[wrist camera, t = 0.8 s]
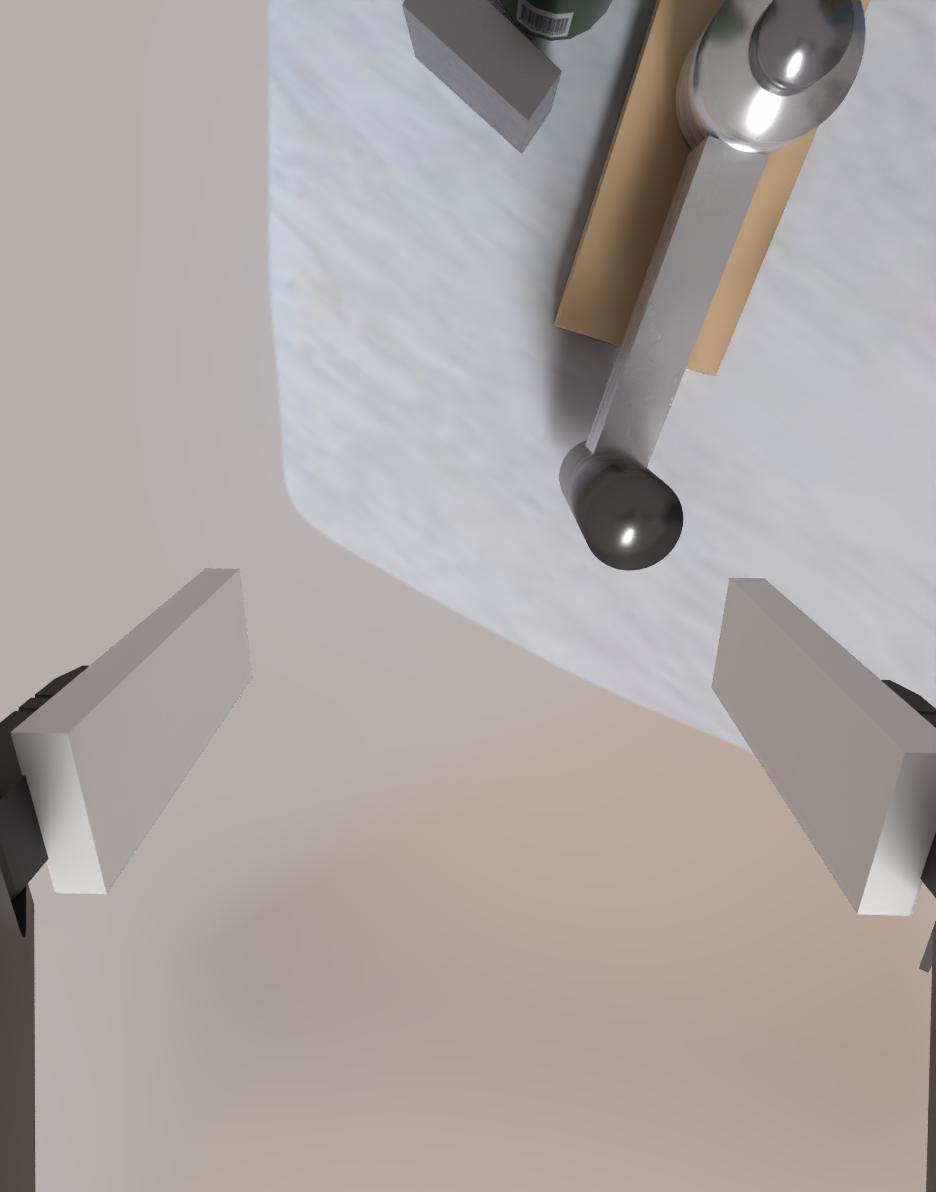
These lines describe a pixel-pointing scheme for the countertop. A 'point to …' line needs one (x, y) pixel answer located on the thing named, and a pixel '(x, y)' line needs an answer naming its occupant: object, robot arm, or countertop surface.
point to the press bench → (664, 199)
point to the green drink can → (556, 16)
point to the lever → (687, 278)
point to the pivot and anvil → (529, 79)
